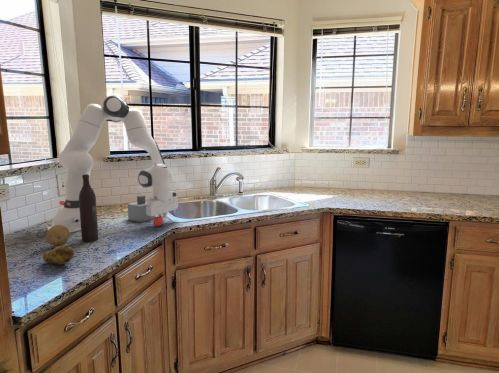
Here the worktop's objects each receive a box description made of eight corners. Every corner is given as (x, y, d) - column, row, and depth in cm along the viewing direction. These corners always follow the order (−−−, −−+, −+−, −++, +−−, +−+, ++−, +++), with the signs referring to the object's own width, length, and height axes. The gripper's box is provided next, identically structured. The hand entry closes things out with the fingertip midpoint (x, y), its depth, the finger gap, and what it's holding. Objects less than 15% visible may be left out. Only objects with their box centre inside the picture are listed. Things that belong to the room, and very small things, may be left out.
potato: (64, 257, 149) (62, 238, 148) (78, 266, 141) (76, 246, 139) (41, 263, 143) (39, 243, 142) (54, 272, 135) (52, 251, 133)
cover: (141, 222, 200) (140, 198, 198) (128, 219, 205) (127, 196, 203) (155, 218, 208) (154, 195, 206) (142, 215, 214) (141, 193, 211)
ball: (166, 222, 195) (160, 229, 192) (158, 220, 197) (152, 227, 194) (163, 215, 192) (157, 222, 189) (155, 213, 194) (149, 220, 191)
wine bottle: (96, 241, 168) (92, 175, 163) (79, 242, 167) (74, 176, 162) (100, 236, 175) (95, 173, 170) (84, 237, 174) (79, 173, 168)
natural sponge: (61, 252, 155) (59, 228, 153) (41, 250, 157) (39, 227, 155) (74, 244, 164) (73, 222, 162) (56, 243, 165) (54, 221, 164)
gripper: (151, 199, 184) (153, 226, 186) (179, 192, 201) (180, 217, 203) (142, 198, 187) (143, 224, 189) (170, 191, 204) (171, 215, 207)
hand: (163, 220), depth 196 cm, fingers closed
